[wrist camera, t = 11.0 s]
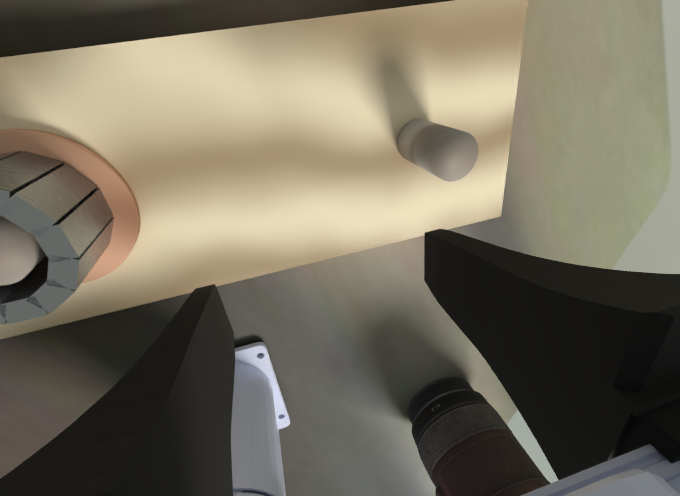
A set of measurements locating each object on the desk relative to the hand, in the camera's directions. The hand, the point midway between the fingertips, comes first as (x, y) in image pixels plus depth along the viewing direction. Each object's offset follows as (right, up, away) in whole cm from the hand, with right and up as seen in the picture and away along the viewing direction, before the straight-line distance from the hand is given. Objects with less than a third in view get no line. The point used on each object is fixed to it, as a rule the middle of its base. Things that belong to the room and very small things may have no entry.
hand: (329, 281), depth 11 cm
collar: (-13, +3, +3) cm, 13 cm away
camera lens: (+10, -14, +22) cm, 28 cm away
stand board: (-5, +6, +7) cm, 10 cm away
